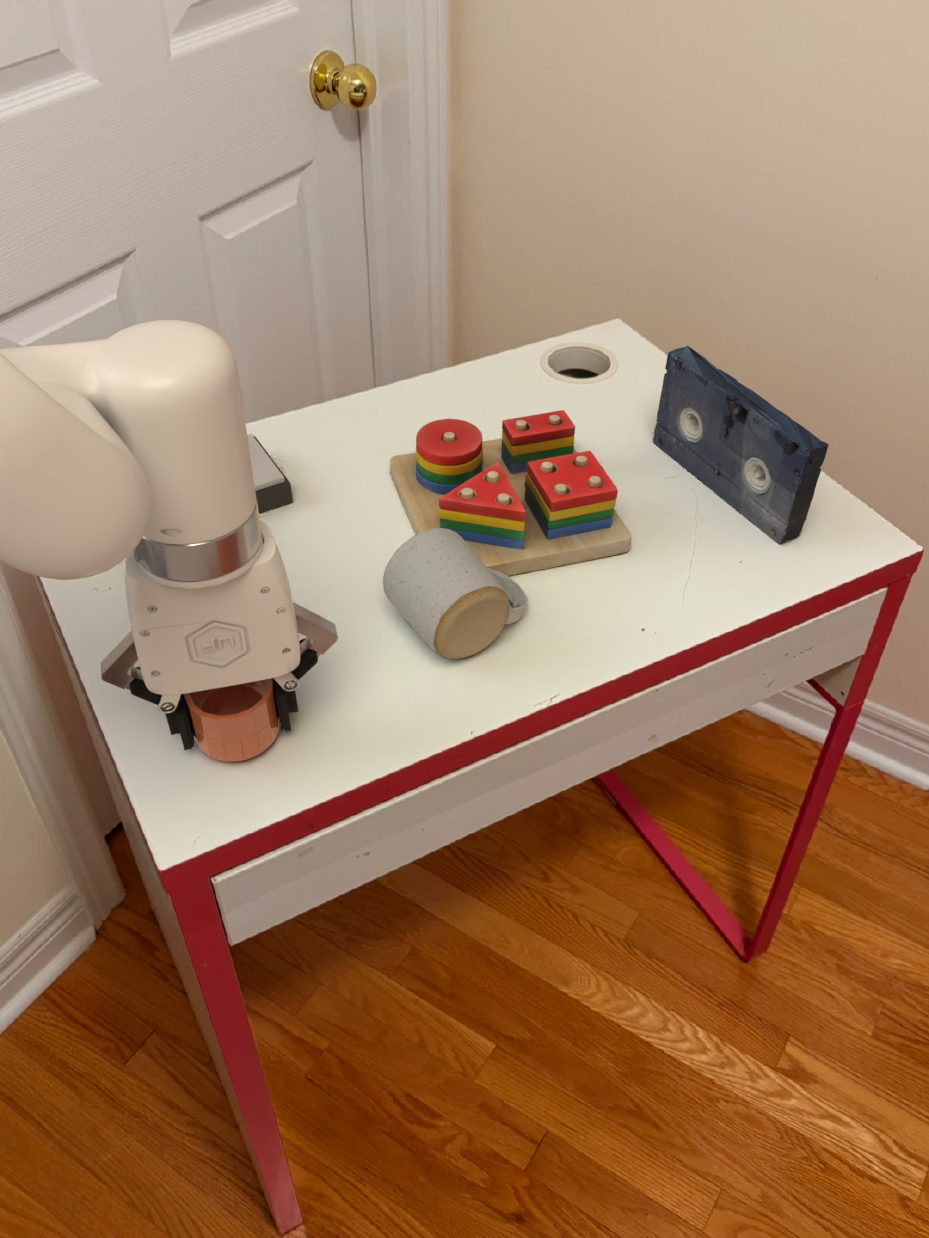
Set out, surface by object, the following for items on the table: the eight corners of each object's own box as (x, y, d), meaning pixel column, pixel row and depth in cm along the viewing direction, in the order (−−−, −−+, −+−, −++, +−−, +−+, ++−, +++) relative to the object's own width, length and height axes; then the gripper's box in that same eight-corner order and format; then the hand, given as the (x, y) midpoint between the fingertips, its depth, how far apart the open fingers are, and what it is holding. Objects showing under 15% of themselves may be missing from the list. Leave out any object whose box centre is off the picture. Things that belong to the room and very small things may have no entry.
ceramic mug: (436, 680, 80) (437, 606, 74) (382, 617, 85) (379, 543, 79) (547, 628, 84) (556, 555, 79) (490, 571, 89) (494, 499, 84)
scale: (202, 532, 92) (197, 507, 90) (170, 481, 98) (164, 456, 96) (293, 502, 95) (290, 477, 93) (257, 454, 101) (253, 430, 99)
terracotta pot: (181, 755, 74) (168, 708, 71) (217, 694, 78) (207, 647, 75) (260, 774, 73) (251, 727, 70) (292, 711, 77) (285, 664, 74)
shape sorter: (631, 553, 91) (640, 497, 87) (438, 591, 87) (438, 534, 83) (560, 441, 103) (565, 387, 98) (388, 470, 99) (385, 416, 95)
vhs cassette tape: (802, 538, 93) (831, 444, 86) (776, 548, 91) (803, 454, 85) (675, 433, 104) (691, 343, 97) (650, 441, 103) (665, 351, 96)
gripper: (44, 593, 58) (113, 790, 71) (351, 546, 62) (365, 742, 74) (46, 512, 63) (110, 709, 76) (329, 473, 67) (346, 667, 79)
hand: (236, 723), depth 75 cm, fingers closed on terracotta pot, 6 cm apart
